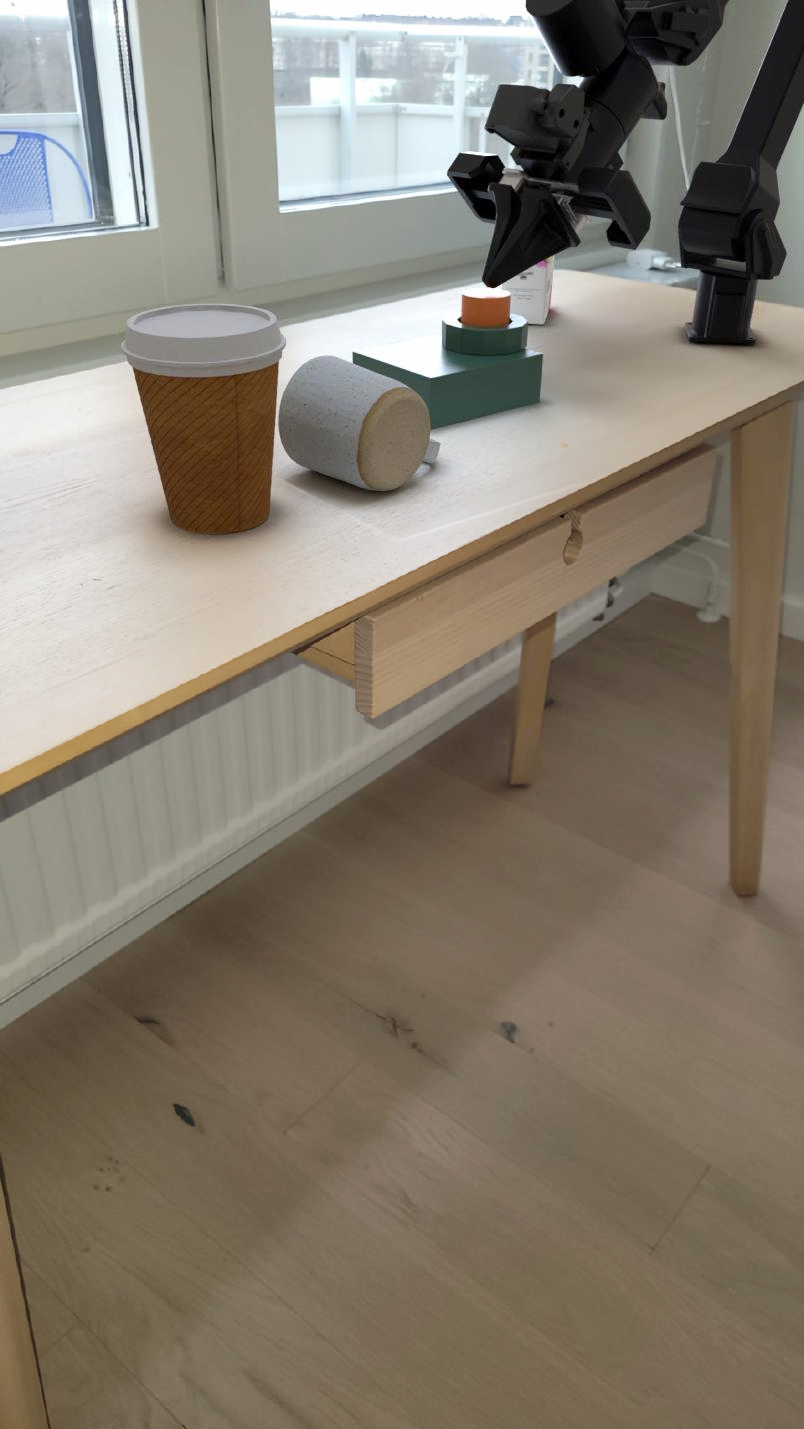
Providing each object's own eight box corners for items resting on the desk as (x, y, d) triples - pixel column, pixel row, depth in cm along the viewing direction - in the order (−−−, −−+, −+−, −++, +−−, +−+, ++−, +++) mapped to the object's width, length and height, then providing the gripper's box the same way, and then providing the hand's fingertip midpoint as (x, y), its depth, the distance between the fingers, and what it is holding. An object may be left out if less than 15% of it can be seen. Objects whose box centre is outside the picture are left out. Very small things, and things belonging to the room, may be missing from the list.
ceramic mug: (363, 509, 69) (363, 389, 65) (277, 478, 73) (272, 364, 69) (467, 470, 76) (473, 359, 72) (382, 444, 80) (383, 338, 76)
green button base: (472, 373, 96) (475, 304, 93) (552, 399, 90) (558, 325, 87) (353, 400, 89) (351, 325, 86) (429, 430, 83) (431, 351, 79)
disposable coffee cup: (152, 490, 72) (129, 302, 65) (295, 486, 72) (285, 300, 66) (135, 548, 64) (106, 341, 57) (295, 543, 64) (284, 338, 58)
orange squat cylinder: (486, 317, 91) (487, 286, 89) (519, 326, 88) (521, 294, 87) (450, 324, 89) (451, 292, 87) (483, 333, 86) (484, 300, 85)
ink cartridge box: (507, 306, 120) (515, 159, 112) (551, 308, 119) (563, 160, 111) (497, 323, 113) (505, 168, 105) (544, 326, 112) (556, 169, 104)
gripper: (468, 39, 86) (360, 200, 87) (646, 42, 74) (521, 229, 74) (530, 144, 95) (432, 290, 95) (700, 162, 83) (587, 330, 83)
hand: (487, 284), depth 87 cm, fingers closed
